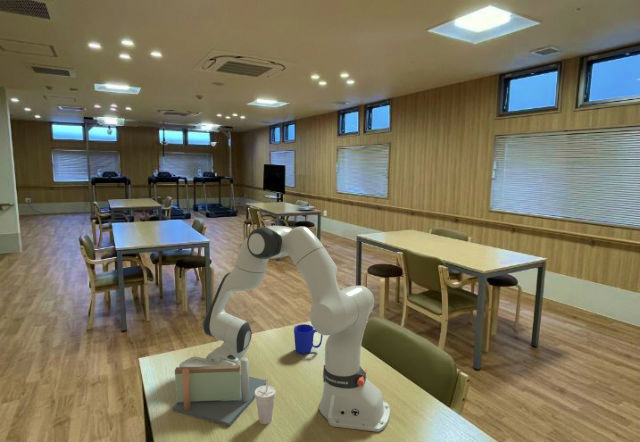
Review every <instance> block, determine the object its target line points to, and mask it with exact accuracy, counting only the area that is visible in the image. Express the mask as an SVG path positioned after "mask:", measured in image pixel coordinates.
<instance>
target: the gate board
mask: <svg viewBox="0 0 640 442" xmlns="http://www.w3.org/2000/svg"><path fill="white" fill-rule="evenodd" d="M249 363H250V362H249V358H247V357H242V358H241V359H240V389H241V397H240V399H237V400H214V401H192V402H190V380H189V369H188V368H185V369H183V370H182V377H183V398H184V402H176V403H175V404H174V405H173V406H172V411H173V412H176V413H180V414H182V415H186V416H190V417H193V418H197V419H200V420H204V421H208V422H211V423H213V424H218V425H220V426H225V427H228V428H230V427H231V426H232V425H233V424H234V423H235V422H236V420H238V418H240V416H241V414H243V412H244V411H246V409H247V408H248V406H249V405H251V403H252V402H253V401H254V400H256V398H255V396H254V394H255V390H256V389H257V388H258V387H260V386H264V385H266V379H262V378H258V377H252V376H250V375H249V367H250V366H249Z"/></svg>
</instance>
